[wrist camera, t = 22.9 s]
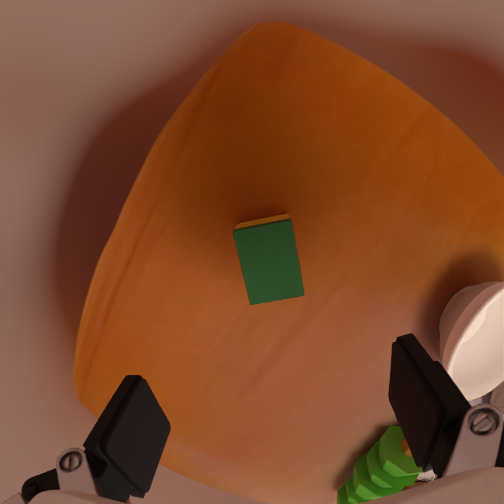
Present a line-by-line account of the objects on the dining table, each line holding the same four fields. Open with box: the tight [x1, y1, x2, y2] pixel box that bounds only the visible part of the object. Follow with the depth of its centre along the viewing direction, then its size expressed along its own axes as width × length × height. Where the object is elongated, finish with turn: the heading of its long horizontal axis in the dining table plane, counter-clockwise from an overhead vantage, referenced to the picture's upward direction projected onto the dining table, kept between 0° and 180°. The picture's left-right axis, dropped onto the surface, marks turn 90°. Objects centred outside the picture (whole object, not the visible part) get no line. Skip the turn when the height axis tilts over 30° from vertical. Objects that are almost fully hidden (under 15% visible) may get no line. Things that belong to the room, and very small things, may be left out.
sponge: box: [233, 214, 304, 305], centre depth 27 cm, size 7×5×4 cm
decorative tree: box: [337, 426, 423, 504], centre depth 33 cm, size 11×12×30 cm
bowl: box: [439, 281, 504, 401], centre depth 26 cm, size 16×16×8 cm
